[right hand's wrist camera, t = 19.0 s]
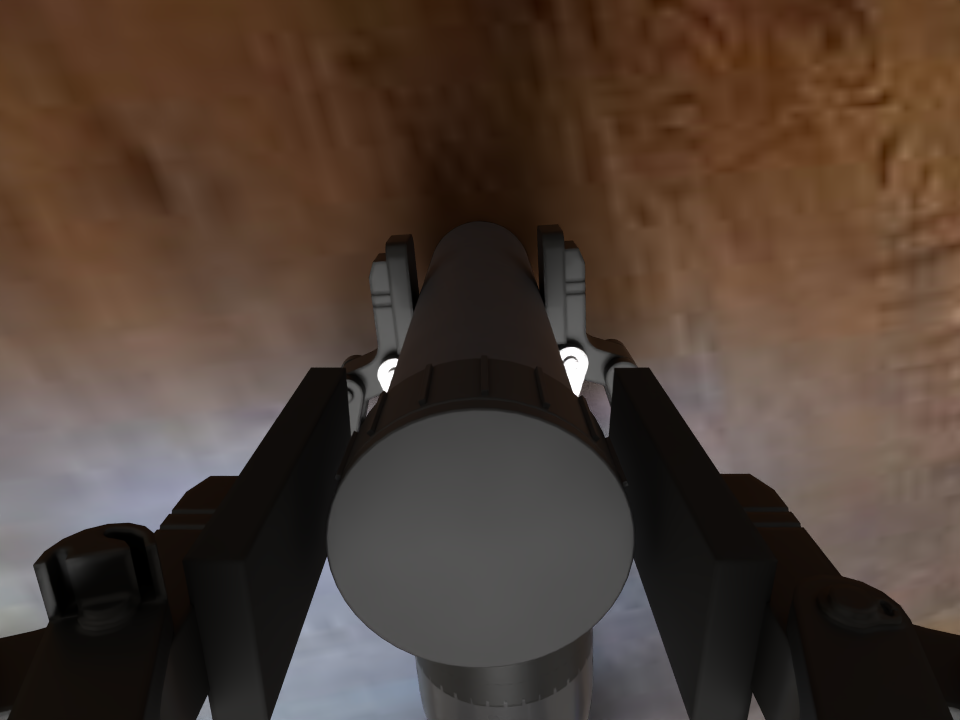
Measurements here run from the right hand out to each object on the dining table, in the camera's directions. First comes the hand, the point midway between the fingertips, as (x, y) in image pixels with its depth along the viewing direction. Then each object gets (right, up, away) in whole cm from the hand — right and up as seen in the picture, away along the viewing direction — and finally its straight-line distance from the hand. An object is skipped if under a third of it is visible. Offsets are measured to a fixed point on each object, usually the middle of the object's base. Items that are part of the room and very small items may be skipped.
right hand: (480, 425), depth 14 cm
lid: (0, -1, -4) cm, 4 cm away
